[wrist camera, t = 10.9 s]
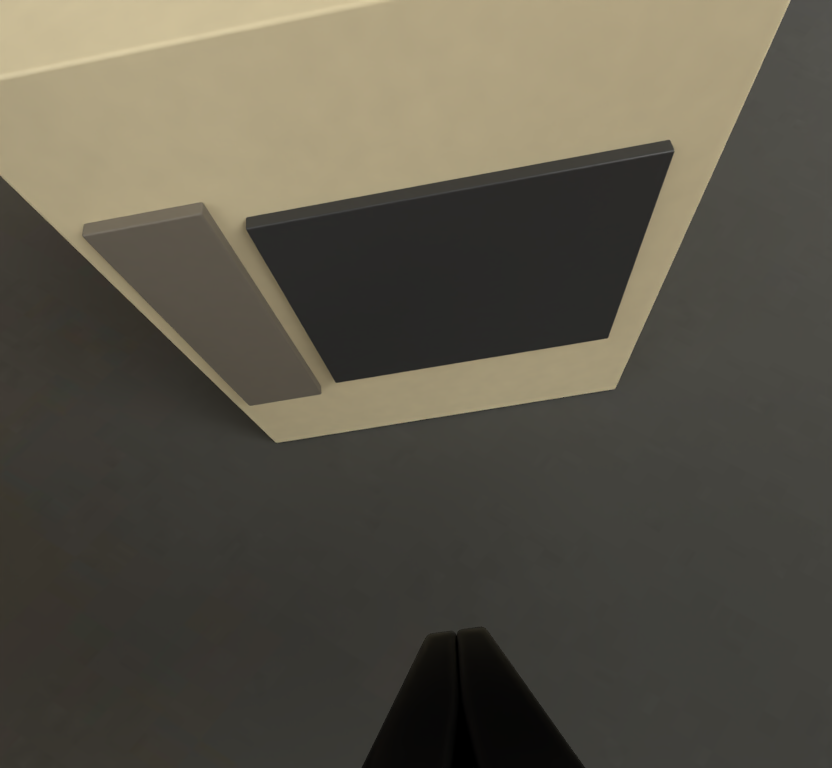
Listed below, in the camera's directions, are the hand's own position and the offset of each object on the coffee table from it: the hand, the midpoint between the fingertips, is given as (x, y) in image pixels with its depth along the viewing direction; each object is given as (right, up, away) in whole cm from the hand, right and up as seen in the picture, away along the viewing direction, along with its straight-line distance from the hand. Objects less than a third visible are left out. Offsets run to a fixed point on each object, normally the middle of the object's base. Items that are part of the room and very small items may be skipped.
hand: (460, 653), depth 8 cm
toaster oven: (-1, +8, +13) cm, 15 cm away
